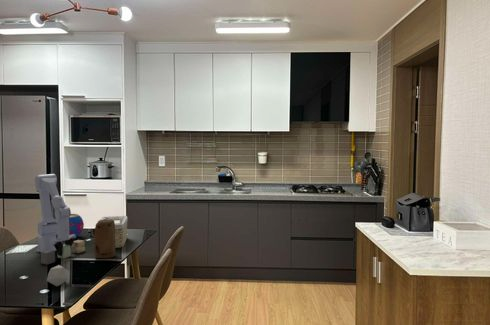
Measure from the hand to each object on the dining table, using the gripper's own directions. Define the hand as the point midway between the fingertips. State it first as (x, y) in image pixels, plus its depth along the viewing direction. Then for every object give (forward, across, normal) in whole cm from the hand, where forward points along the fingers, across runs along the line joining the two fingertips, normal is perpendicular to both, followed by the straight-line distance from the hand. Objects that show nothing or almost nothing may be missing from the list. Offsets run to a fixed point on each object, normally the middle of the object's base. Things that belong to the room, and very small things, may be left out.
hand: (64, 254), depth 198 cm
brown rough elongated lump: (+2, +8, -21) cm, 23 cm away
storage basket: (+2, +30, -6) cm, 31 cm away
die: (+2, -29, -29) cm, 41 cm away
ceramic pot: (+2, +29, +28) cm, 40 cm away
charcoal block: (+2, -10, 0) cm, 10 cm away
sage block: (+1, 0, 0) cm, 1 cm away
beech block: (+2, +10, 0) cm, 10 cm away
